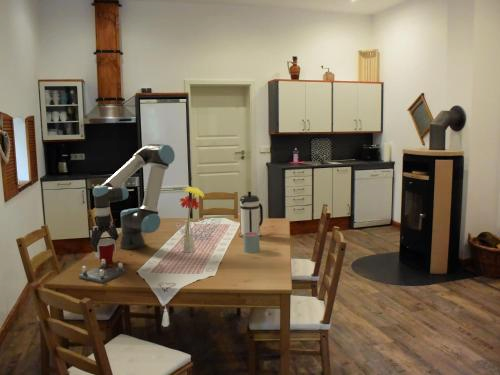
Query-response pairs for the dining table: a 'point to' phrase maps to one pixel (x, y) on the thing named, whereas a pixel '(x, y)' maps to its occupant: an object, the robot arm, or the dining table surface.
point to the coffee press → (250, 214)
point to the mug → (251, 242)
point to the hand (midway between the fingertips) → (105, 254)
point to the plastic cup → (106, 249)
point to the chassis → (102, 272)
